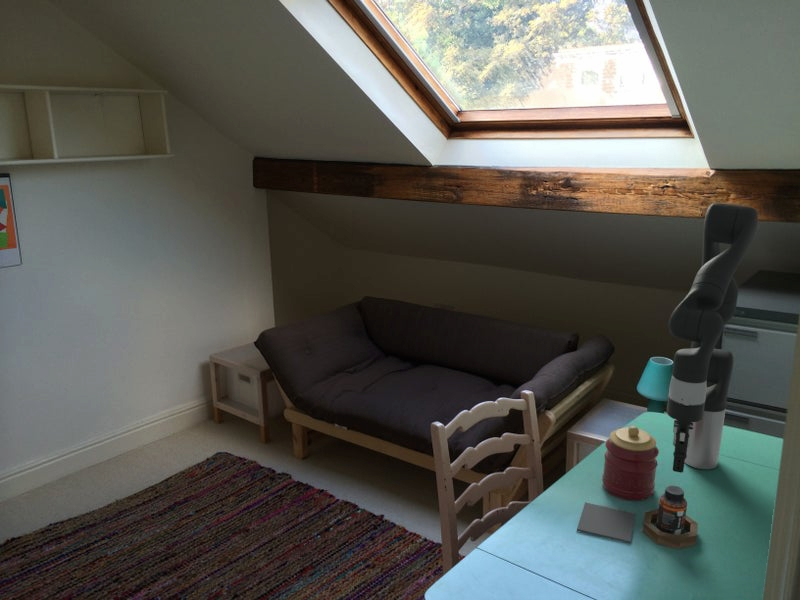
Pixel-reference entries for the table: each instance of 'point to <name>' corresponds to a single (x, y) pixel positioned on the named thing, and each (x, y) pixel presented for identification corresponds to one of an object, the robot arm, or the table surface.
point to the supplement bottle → (672, 511)
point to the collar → (668, 538)
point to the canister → (630, 464)
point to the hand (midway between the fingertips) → (678, 462)
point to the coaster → (606, 522)
